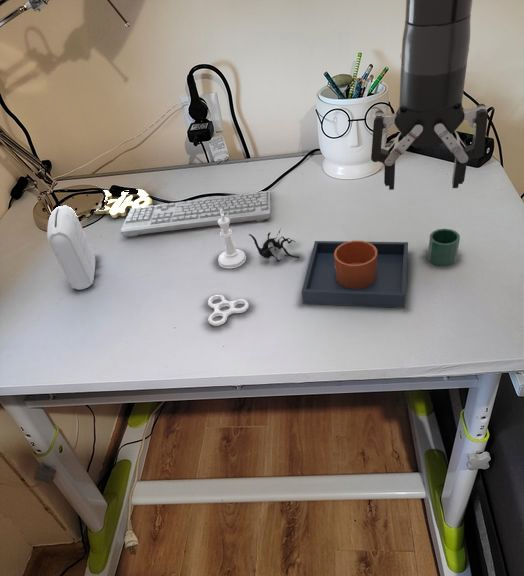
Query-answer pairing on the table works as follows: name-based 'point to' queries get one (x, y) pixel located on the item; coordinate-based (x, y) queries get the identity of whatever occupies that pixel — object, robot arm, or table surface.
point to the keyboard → (197, 213)
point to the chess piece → (229, 246)
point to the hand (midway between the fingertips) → (423, 186)
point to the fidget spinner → (227, 312)
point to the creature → (266, 250)
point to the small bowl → (443, 247)
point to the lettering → (124, 203)
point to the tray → (379, 294)
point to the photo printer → (71, 247)
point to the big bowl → (355, 264)
